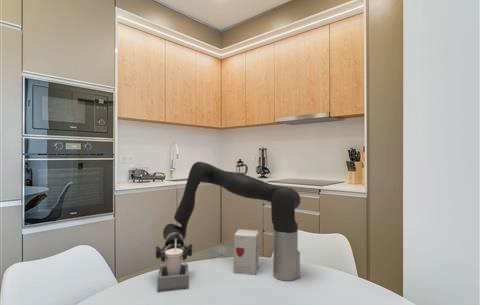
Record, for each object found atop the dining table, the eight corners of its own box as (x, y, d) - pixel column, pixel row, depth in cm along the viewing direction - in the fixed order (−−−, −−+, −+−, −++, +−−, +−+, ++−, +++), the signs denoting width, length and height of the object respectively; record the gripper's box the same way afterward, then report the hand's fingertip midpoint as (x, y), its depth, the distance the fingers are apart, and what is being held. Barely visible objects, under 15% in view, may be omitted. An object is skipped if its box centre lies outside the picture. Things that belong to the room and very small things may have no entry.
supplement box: (232, 273, 101) (233, 234, 102) (238, 264, 110) (238, 228, 111) (255, 275, 99) (256, 235, 100) (259, 266, 108) (259, 230, 109)
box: (187, 276, 98) (187, 264, 98) (188, 288, 88) (188, 275, 88) (159, 279, 95) (159, 266, 96) (157, 292, 86) (158, 278, 86)
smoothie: (178, 283, 88) (178, 242, 89) (160, 282, 89) (161, 241, 90) (185, 275, 94) (186, 237, 95) (169, 274, 96) (170, 235, 96)
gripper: (156, 235, 105) (152, 248, 88) (192, 233, 108) (195, 246, 92) (155, 254, 104) (151, 271, 88) (192, 251, 108) (194, 267, 91)
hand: (174, 258), depth 90 cm, fingers closed on smoothie, 6 cm apart
